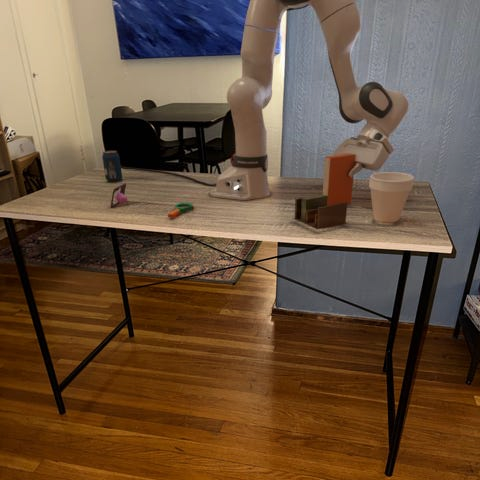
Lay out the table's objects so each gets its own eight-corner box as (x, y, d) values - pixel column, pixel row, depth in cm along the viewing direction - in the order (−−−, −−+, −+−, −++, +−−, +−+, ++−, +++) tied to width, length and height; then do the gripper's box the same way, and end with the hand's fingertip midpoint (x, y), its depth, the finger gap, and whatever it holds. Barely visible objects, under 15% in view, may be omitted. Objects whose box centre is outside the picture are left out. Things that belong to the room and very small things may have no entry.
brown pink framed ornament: (123, 182, 163) (111, 188, 156) (136, 187, 163) (125, 194, 155) (120, 199, 167) (108, 206, 159) (133, 205, 167) (121, 212, 159)
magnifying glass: (179, 205, 159) (179, 200, 158) (195, 206, 157) (195, 201, 156) (161, 218, 146) (161, 213, 145) (179, 219, 145) (178, 214, 144)
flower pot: (413, 221, 139) (421, 175, 132) (395, 231, 131) (402, 183, 124) (376, 213, 146) (382, 170, 139) (357, 223, 138) (362, 177, 131)
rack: (293, 222, 140) (293, 197, 137) (321, 216, 145) (323, 192, 141) (316, 233, 131) (318, 206, 127) (346, 226, 136) (348, 200, 132)
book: (321, 206, 151) (324, 156, 143) (345, 202, 155) (349, 153, 147) (326, 209, 149) (330, 158, 141) (351, 204, 153) (355, 154, 145)
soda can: (118, 178, 200) (113, 149, 194) (125, 180, 195) (121, 151, 189) (103, 181, 196) (98, 151, 190) (110, 183, 191) (106, 153, 185)
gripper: (344, 130, 153) (319, 163, 154) (389, 137, 138) (361, 174, 139) (353, 142, 157) (329, 175, 158) (397, 151, 142) (370, 187, 143)
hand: (344, 175), depth 148 cm, fingers closed on book, 3 cm apart
